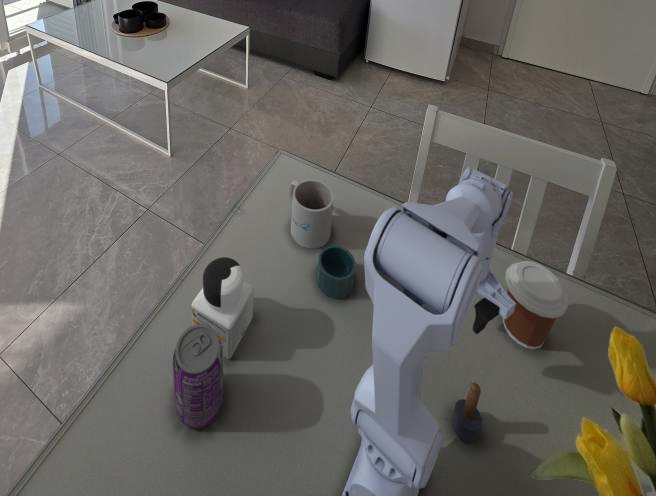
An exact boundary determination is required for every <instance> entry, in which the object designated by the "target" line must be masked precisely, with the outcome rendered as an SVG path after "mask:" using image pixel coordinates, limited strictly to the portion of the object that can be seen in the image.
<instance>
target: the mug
mask: <svg viewBox="0 0 656 496" xmlns="http://www.w3.org/2000/svg"><path fill="white" fill-rule="evenodd" d="M289 199H290V203H291V218H290V234H291V237H292V238H293V240H294V241H295V243H297V244H298V245H299V246H301V247H303V248H305V249H310V250H312V249H313V250H315V249H320V248H322V247H324V246H325V245H327V243H329V240H330V237H331V231H332V221H333V220H332V219H333V209H334V199H335V197H334V192H333V190H332V189H331V187H330V186H329V185H328V184H327V183H325V182H323V181H320V180H317V179H305V180H302V181H299V180H293V181H292V182H291V183H290V185H289Z"/></svg>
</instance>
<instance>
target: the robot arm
mask: <svg viewBox="0 0 656 496" xmlns="http://www.w3.org/2000/svg"><path fill="white" fill-rule="evenodd" d="M513 195H514V191H510V190H509V187H508V185H507V184H506V183H503V182H501V181H500V180H497V179H495V178H493V177H492V176H489V175H488V174H486V173H483V172H481V171H479V170H477V169H475V168H474V169H472V168H471V167H470V166H467V168H466V169H465V170H464V172H463V174H462V175H461V177H460V179H459V181H458V184H456V185H455V186H454V187H452V188H450V190H449V191H448V192H447V195H446V197H445V201H442V202H440V203H436V204H426V203H418V202H413V201H412V202H411V201H405V202H404V203H403V204H401V208H402V210H401V209H400V208H399V207H398V206H392V207H391V208H388V209H386V210H385V211H384V212H383V213H382V214H381V215H380V216H379V218H378V219H377V221H376V223H375V225H374V227H373V229H372V231H371V234H370V237H369V240H368V243H367V246H366V248H365V252H364V255H363V262H364V263H363V265H364V280H365V282H364V283H365V290H366V292H367V294H368V296H369V298H370V300H371V302H372V304H373V311H372V313H373V314H372V315H373V317H372V334H371V335H372V336H371V337H372V338H371V347H372V364H371V365H370V366H369V367H368V368H367V369H366V371H365V372H364V374H363V376H362V377H361V378H360V381H359V383H358V384H357V387H356V389H355V391H354V397H353V399H352V403H351V406H350V416H351V417H350V418H351V419H350V420H351V422H352V424H353V425H355V426H357V427H358V430H357V434H358V435H359V436H360V437H361V442H360V447H359V449H358V452H357V455H356V457H355V460H354V463H353V465H352V468H351V470H350V472H349V475H348V479H347V481H346V484H345V487H344V489H343V491H342V495H341V496H347V495H346V494H348V496H418V495H419V492H420V489H424V488H426V486H427V484H428V481H429V479H430V477H431V474H432V471H433V469H434V466H435V464H436V461H437V459H438V456H439V453H440V450H441V446H442V444H443V441H444V435H443V432H442V427H441V426H440V424H439V422H438V421H437V420H436V418H435V417H434V416H433V414H432V413H431V411H429V410H428V408H427V407H426V406H425V404H424V403H423V401H422V400H421V397H422V388H423V387H422V386H423V374H424V362H425V355H426V353H427V352H429V351H430V352H438V353H445V354H446V353H447V354H448V353H450V351H451V350H452V346H455V345H456V344H457V342H458V339H459V337H460V335H461V332H462V329H463V327H464V324H465V322H466V320H467V318H468V316H469V314H470V312H471V309H472V307H474V310H475V311H474V312H475V318H474V321H473V325H472V331H473V332H474V334H475V335H478V334H480V333H481V332H482V331H483V330H485V328H486V326H487V325H488V323H489V322H490V321H493V320H494V319H495V318H496V317H498V316H499V315H500V316H501V317H502V319H503V318H504V319H507V318H508V317H509V316H510V315H512V314H513V313H514V309H515V306H516V303H515V302H514V301H513V300H512V299H511V298H510V297H509V296H508V294H507V292H506V289H504V288H503V286H502V284H501V283H500V282H499V280H498V279H497V277H496V276H495V274H494V273H493V271H492V270H491V268H490V267H491V263H492V259H493V256H494V252H495V248H496V244H497V241H498V236H499V233H500V231H501V229H502V227H503V224H504V222H505V221H506V219H507V216H508V214H509V211H510V208H511V205H512V202H513V197H514V196H513ZM477 294H478V295H480V296H481V297H482V298H481V299H480V300H479V301H478V302H476V303H475V304H474V302H475V299H476V296H477ZM473 304H474V306H473Z"/></svg>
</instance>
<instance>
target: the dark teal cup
mask: <svg viewBox="0 0 656 496" xmlns="http://www.w3.org/2000/svg"><path fill="white" fill-rule="evenodd" d="M356 266H357V263H356V260H355V257H354V255H353V254H352V253H351V252H350V250H348V249H347V248H345V247H343V246H340V245H328V246H326V247H324V248H323V249H322V250H321V251H320V253H319V254H318V261H317V271H316V282H317V286H318V288H319V289H320V291H321V292H322V293H323V294H324V295H325V296H326V297H328V298H330V299H334V300H342V299H345V298H347V297H348V296H349V295H350V294H351V293H352V292H353V289H354V286H355V285H354V284H355V277H356V269H357V268H356Z"/></svg>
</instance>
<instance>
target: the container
mask: <svg viewBox="0 0 656 496" xmlns="http://www.w3.org/2000/svg"><path fill="white" fill-rule="evenodd" d="M243 276H244V274H243V269H242V266H241V264H240V263H239V262H238V261H236V260H235V259H234V258H231V257H228V256H227V257H226V256H222V257H218V258H215V259H213V260H212V261H210V262H209V263H208V264H207V265H206V267H205V268H204V270H203V274H202V288H201V289H200V290H199V292H198V294H197V295H196V297H195V298H194V299H193V301H192V302H191V326H193V325H197V324H204V325H207V326H209V327H211V328H212V329H213V330H214V331H215V332H216V334H217V336H218V339H219V341H220V343H221V346H222V351H223V358H226V359H228V360H231V359H232V358H233V355H234V353H235V351H236V349H237V348H238V346H239V345H240V342H241V341H242V339H243V337H244V335H245V333H246V331H247V330H248V327H249V325H250V324H251V322H252V320H253V318H254V286H253V285H251V284H250V283H248V282H246V281H244V280H243V278H244V277H243Z"/></svg>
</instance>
